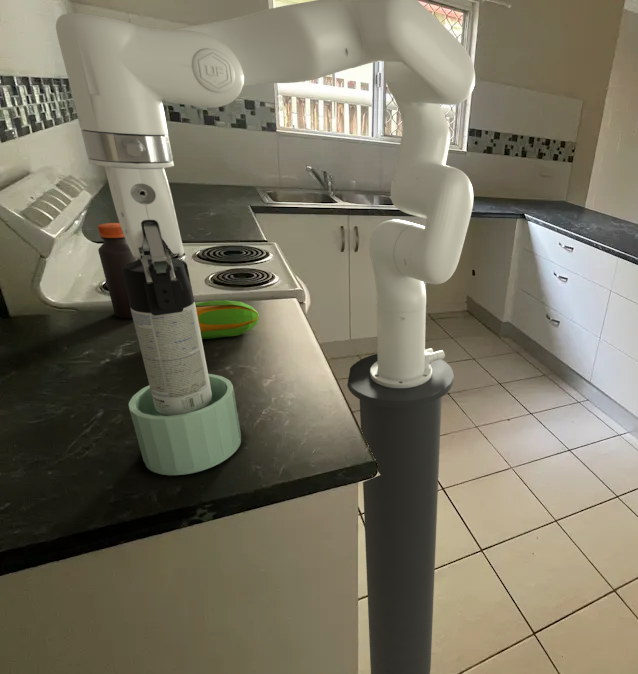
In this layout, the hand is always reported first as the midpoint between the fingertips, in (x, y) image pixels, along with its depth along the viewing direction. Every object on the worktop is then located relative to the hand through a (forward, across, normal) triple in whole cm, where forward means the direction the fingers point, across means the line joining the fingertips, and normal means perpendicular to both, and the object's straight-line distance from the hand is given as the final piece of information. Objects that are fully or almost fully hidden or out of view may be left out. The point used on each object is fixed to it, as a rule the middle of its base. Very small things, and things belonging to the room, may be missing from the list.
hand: (163, 302), depth 59 cm
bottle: (+23, +60, +2) cm, 64 cm away
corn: (+23, +40, -9) cm, 47 cm away
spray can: (+15, 0, 0) cm, 15 cm away
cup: (+22, 0, 0) cm, 22 cm away
